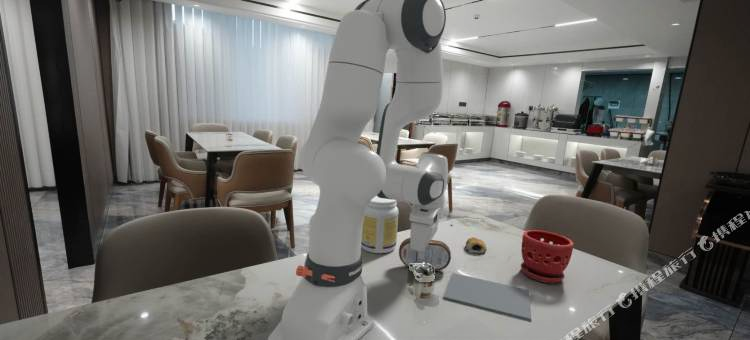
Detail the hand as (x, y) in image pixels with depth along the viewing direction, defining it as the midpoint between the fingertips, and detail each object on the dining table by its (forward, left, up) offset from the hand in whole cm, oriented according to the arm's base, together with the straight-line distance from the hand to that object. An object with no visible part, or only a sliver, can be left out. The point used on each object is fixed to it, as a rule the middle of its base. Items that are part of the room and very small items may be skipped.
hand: (423, 255), depth 99 cm
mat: (-6, -19, -4) cm, 20 cm away
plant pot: (+13, -33, -5) cm, 36 cm away
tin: (0, 0, -4) cm, 4 cm away
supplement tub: (+8, +17, -5) cm, 20 cm away
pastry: (+24, -13, -5) cm, 27 cm away
